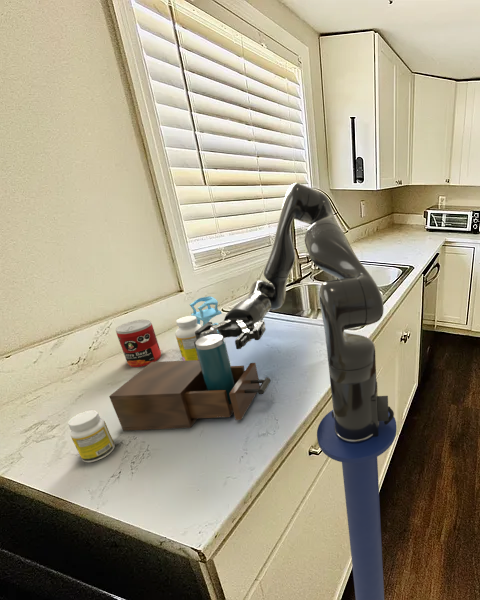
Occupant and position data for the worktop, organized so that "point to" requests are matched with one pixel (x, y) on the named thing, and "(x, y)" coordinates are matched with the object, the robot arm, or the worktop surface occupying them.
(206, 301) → the chair
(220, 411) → the drawer
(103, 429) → the supplement bottle
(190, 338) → the supplement bottle
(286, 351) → the worktop surface
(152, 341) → the canned food
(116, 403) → the cabinet
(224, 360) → the can
